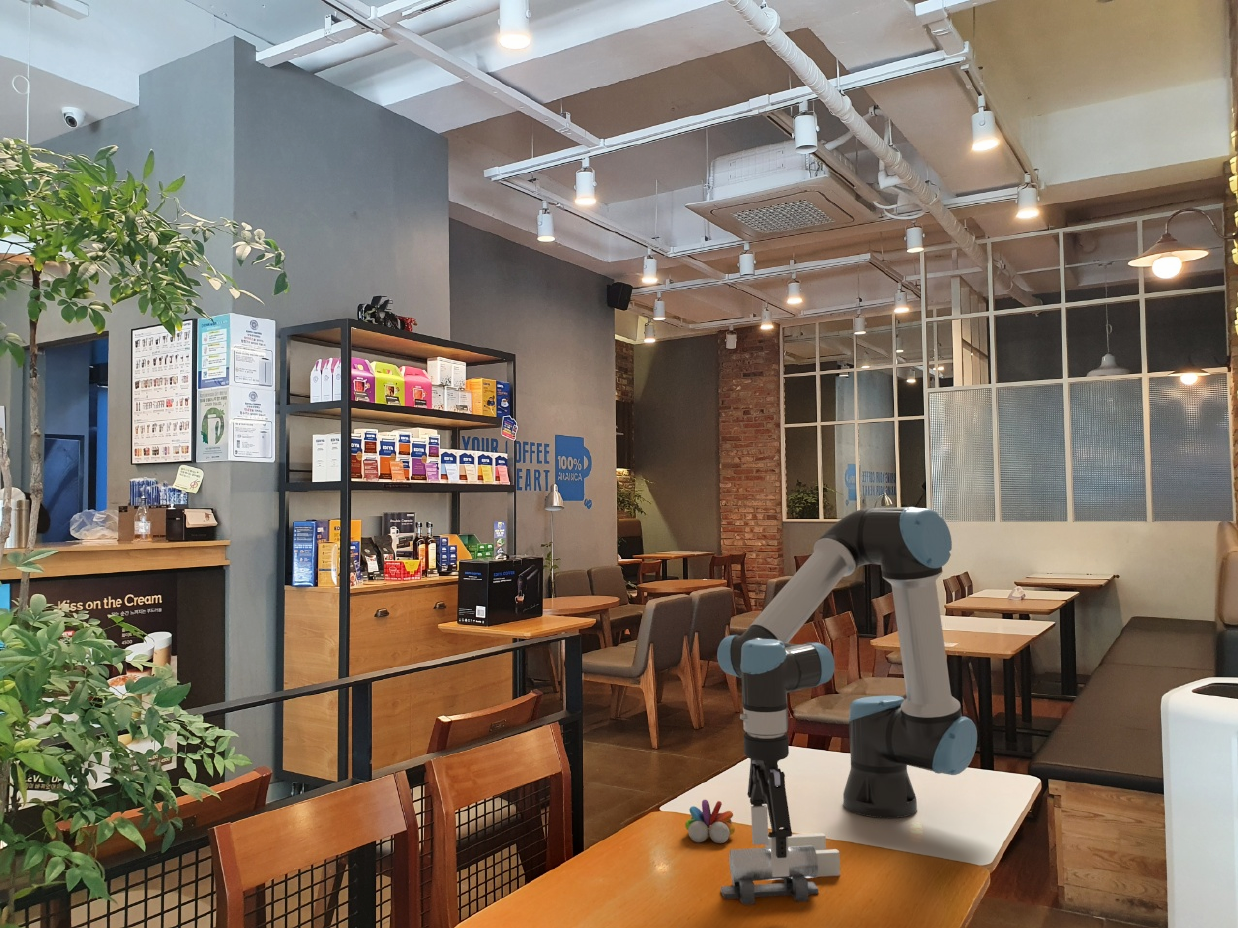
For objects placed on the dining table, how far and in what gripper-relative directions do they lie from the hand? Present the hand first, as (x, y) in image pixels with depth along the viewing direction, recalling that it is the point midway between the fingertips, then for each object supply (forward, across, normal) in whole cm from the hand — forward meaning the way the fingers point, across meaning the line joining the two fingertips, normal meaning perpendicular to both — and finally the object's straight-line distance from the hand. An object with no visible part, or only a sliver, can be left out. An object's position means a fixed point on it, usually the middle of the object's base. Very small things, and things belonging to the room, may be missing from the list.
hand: (770, 859), depth 155 cm
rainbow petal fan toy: (+6, -26, -6) cm, 28 cm away
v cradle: (+5, 0, 0) cm, 5 cm away
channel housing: (+6, -10, +8) cm, 14 cm away
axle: (+1, 0, 0) cm, 1 cm away
